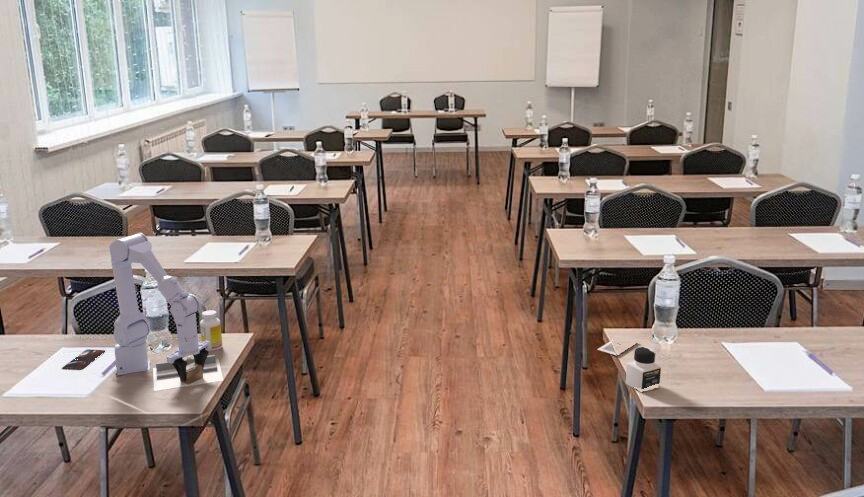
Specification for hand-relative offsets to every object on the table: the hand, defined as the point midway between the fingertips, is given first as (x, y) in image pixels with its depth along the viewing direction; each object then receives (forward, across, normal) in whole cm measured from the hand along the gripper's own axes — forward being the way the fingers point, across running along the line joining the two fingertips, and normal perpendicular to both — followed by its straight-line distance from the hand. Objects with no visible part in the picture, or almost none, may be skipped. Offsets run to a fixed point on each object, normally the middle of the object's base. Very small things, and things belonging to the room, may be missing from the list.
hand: (191, 376), depth 228 cm
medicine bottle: (+2, +75, -115) cm, 137 cm away
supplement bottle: (+2, +20, +15) cm, 25 cm away
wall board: (+2, +2, +4) cm, 5 cm away
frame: (+1, 0, 0) cm, 1 cm away
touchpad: (+2, +98, -98) cm, 139 cm away
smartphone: (+2, -10, +42) cm, 43 cm away
